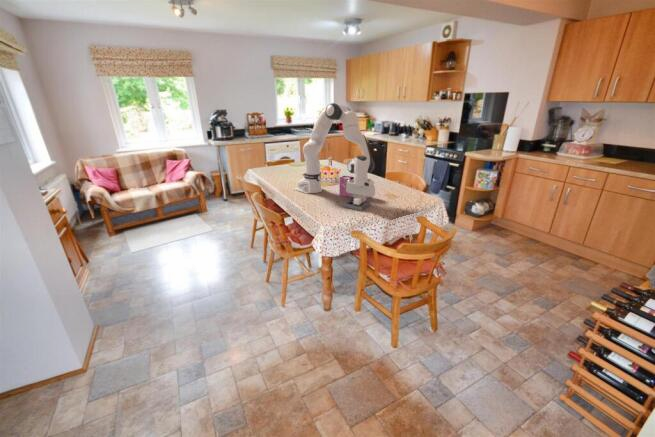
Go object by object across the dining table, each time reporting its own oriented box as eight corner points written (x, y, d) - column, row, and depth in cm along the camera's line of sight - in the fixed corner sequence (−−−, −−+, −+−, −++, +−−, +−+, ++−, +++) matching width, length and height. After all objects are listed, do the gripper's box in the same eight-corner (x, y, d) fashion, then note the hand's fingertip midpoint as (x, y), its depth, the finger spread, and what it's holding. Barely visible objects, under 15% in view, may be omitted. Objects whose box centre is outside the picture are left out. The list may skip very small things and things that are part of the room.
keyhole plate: (342, 207, 201) (343, 203, 200) (352, 201, 212) (352, 197, 211) (361, 211, 194) (361, 207, 193) (370, 204, 205) (370, 201, 204)
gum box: (372, 197, 220) (373, 179, 215) (368, 200, 214) (369, 182, 209) (343, 192, 231) (343, 175, 226) (339, 195, 225) (339, 177, 219)
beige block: (353, 206, 199) (353, 198, 196) (360, 201, 207) (360, 193, 205) (358, 208, 197) (359, 199, 194) (365, 203, 205) (366, 194, 203)
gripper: (344, 180, 198) (344, 199, 203) (372, 184, 188) (371, 204, 193) (348, 177, 203) (348, 196, 208) (376, 182, 193) (375, 202, 198)
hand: (359, 200), depth 201 cm, fingers closed on beige block, 4 cm apart
